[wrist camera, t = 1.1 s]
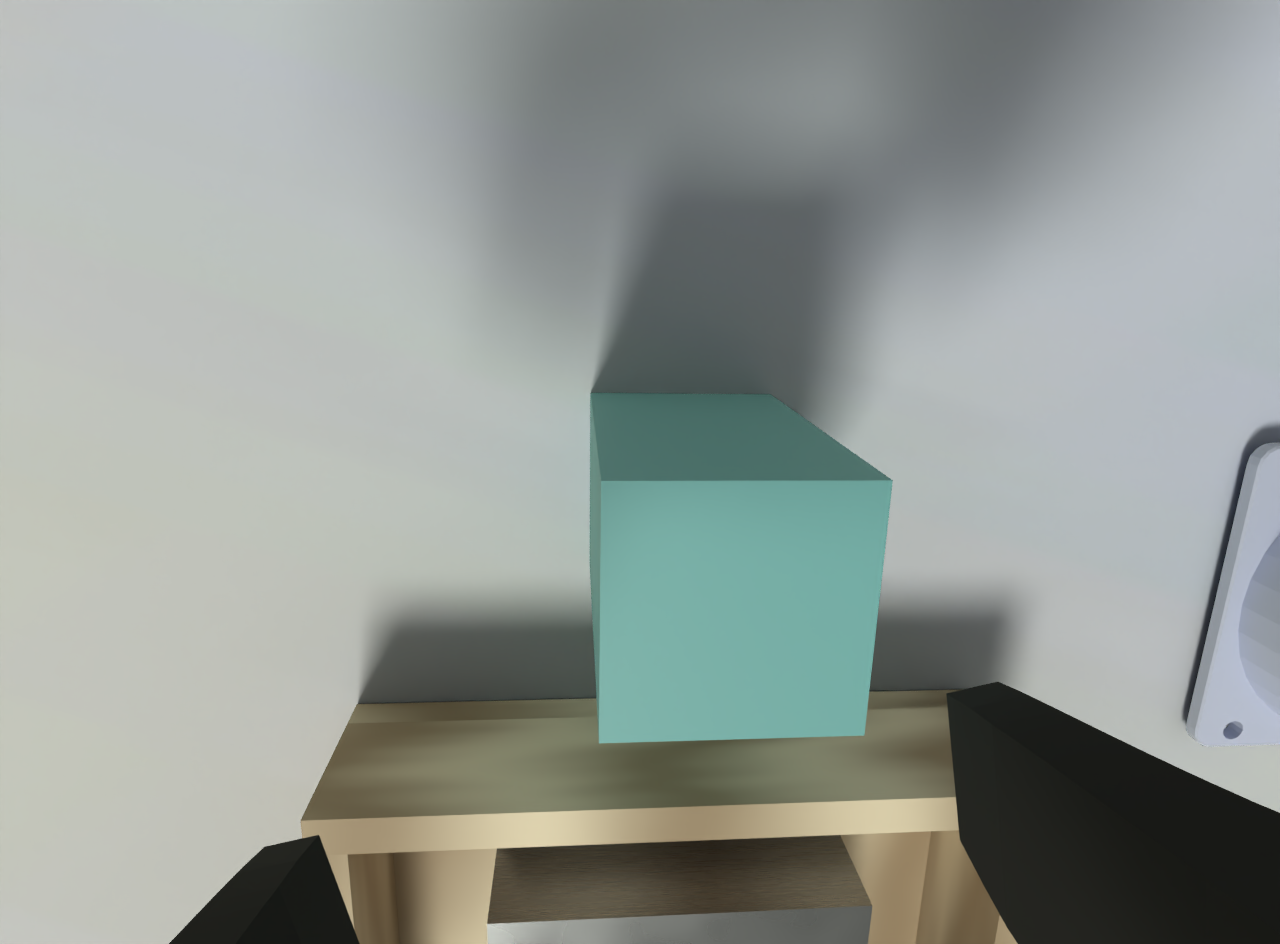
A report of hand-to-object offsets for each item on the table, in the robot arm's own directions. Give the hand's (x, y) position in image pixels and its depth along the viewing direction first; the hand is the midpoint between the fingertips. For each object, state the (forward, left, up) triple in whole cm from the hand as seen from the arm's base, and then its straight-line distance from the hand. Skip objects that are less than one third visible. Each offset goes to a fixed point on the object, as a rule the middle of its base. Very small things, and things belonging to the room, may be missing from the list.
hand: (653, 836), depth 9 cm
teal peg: (-1, -1, -10) cm, 10 cm away
